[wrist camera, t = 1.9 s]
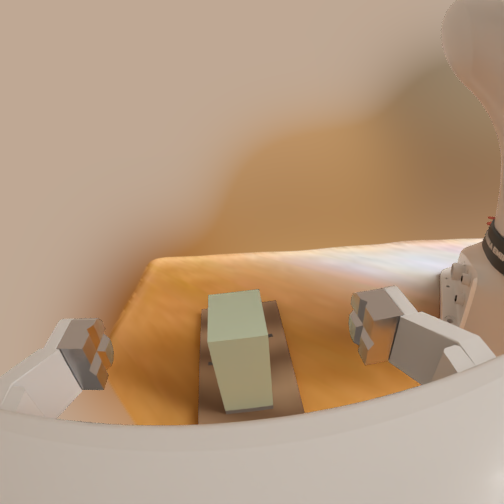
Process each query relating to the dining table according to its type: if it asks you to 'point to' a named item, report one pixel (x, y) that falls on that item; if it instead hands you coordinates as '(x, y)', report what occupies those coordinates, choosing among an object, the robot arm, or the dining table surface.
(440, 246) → the dining table surface
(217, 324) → the green block
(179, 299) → the dining table surface
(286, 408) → the board
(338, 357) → the dining table surface
